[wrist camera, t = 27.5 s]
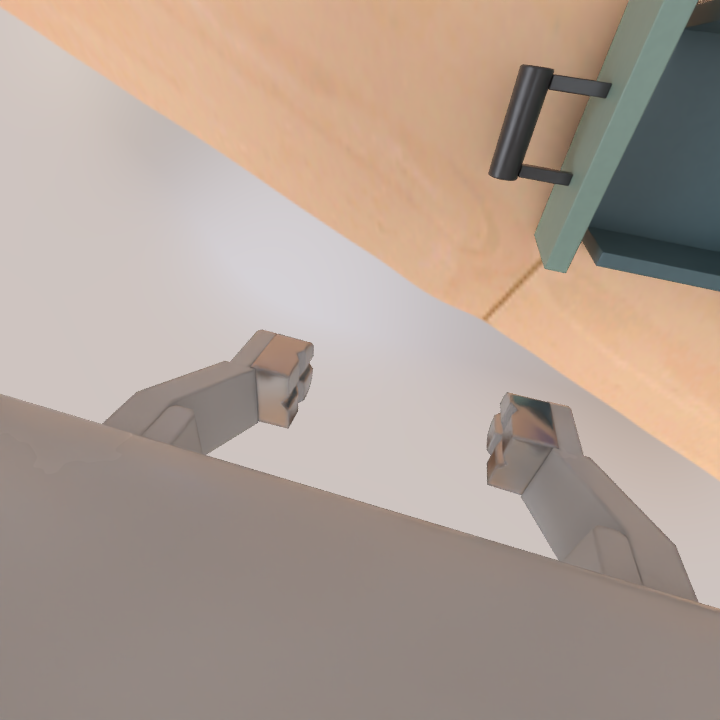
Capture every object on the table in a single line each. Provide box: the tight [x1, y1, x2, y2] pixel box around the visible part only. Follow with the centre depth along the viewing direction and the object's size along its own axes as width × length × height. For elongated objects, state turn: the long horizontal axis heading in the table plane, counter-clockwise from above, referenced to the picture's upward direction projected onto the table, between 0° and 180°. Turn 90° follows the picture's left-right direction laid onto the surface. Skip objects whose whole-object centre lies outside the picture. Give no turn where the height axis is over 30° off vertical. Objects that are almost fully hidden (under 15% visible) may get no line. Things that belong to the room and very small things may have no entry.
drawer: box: [488, 0, 720, 291], centre depth 20 cm, size 19×12×6 cm, turn 83°
